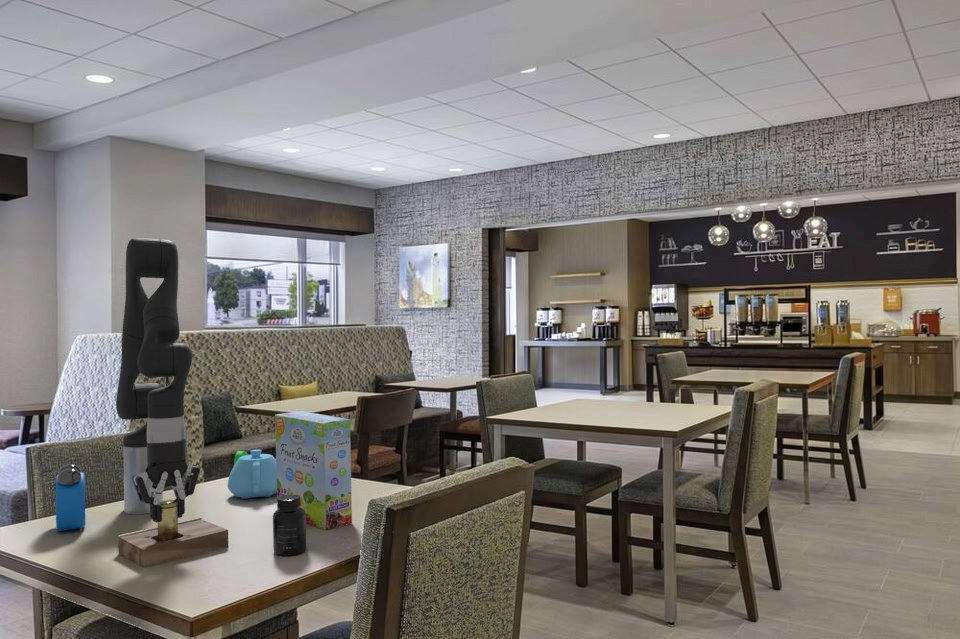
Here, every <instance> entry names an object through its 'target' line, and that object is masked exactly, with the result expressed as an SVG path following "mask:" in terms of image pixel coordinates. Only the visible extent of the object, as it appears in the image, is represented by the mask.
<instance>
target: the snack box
mask: <svg viewBox="0 0 960 639" xmlns="http://www.w3.org/2000/svg"><path fill="white" fill-rule="evenodd" d="M274 427H275V428H274V430H275V431H274V432H275V459H276V471H277V493H276V496H277V498H278V497H280V496H284V495H299V496H300V498H301V506H300V507H301V508H302V509H304V511H305V513H306V525H308V526H312V527H314V528H318V529H321V530H324V531H329V530H333V529H336V527H337V528H340V527H339V526H341V527H344V526H347V525H346V524H348V525H351V524H350V523H352V524H353V515H352V514H353V512H352V510H353V508H352V507H353V506H352V504H353V503H352V500H353V499H352V455H351V454H352V451H351V450H352V448H351V441H352V440H351V419H349V418H345V417H340V416H339V417H338V416H332V415H326V414H320V413H315V412H308V411H301V410H299V411H298V410H297V411H291V412H284V413H278V414H274ZM277 498H276V499H277ZM276 508H277V509H276V510H278V507H277V506H276ZM343 525H344V526H343ZM332 528H333V529H332Z"/></svg>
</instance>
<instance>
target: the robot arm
mask: <svg viewBox="0 0 960 639" xmlns="http://www.w3.org/2000/svg"><path fill="white" fill-rule="evenodd" d="M141 278H145V279H146V278H147V279H163V280H162V282H161V284H160V285H159V286H158V288H156V290H155V291H154V292H153V293H152V294H151V295H150V297H148V295H147V293H146V291H145V290H144V288H143V285H142V282H141ZM178 290H179V252H178V247H177V245H176V243H175V242H174V241H173V240H169V239H162V238H161V239H159V238H146V237H144V238H143V237H133V238H131V239H130V240H129V241H128V243H127V245H126V251H125V301H124V311H123V313H124V314H123V319H122V320H123V321H122V322H123V323H122V329H121V330H122V332H121V333H122V334H121V357H120V358H121V362H120V370H119V379H118V384H117V392H116V400H115V401H116V403H115V406H116V407H115V408H116V413H117V416H118V417H119V418H120V419H122V420H124V421H125V420H127V421H129V420H131V421H132V420H142V419H143V420H144V419H147V421H146V422H145V423H144V424H143V425H142V426H140V427H139V428H137V429H135V430H132V431H130V432H127V433H125V435H124V436H123V438H122V439H123V440H122V442H123V444H122V446H123V448H122V449H123V492H124V493H123V500H124V502H123V504H124V505H123V507H124V508H123V510H124V511H123V512H124V513H125V514H128V515H144V514H149V518H150V520H152V522H154V523H156V524H157V522H160V504H159V502H160V501H164V495H163V494H164V488H168V487H171V489H172V491H173V493H174V497H175V498H174V500H177V501H178V519H179V518H183V515H185V513H186V506H185V505H186V503H185V501H186V498H188V497H190V496H192V495H194V493H195V489H196V486H197V482H198V479H199V475H200V473H201V468H200V467H198V466H194V465H191V466H190V465H188V463H187V462H186V459H187V458H186V457H187V447H186V445H187V444H186V443H187V442H186V441H187V440H186V435H187V431H186V422H185V414H184V413H185V407H184V406H185V405H184V401H185V392H186V385H187V384H186V383H187V379H188V377H189V375H190V374H189V373H190V369H191V367H192V363H193V353H192V350H191V348H190V346H188V345H187V344H186V343H181V342H176V341H177V340H179V337H180V334H181V333H180V322H179V316H178V292H179V291H178ZM140 374H141V375H142V376H144V377H146V378H167V377H168V378H169V377H173V379H172V381H171V383H169V384H168V385H165V386H161V385H160V384H159V383H156V382H147V383H136V381H137V379H138V377H139V376H140ZM185 473H186V480H185V484H184V483H183V480H182V479H183V477H184V475H185Z"/></svg>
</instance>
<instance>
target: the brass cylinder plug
mask: <svg viewBox="0 0 960 639" xmlns="http://www.w3.org/2000/svg"><path fill="white" fill-rule="evenodd" d="M159 504H160V522H157V523H156V525H157V526H156V527H158V542H159V541H169V540H174V539H178V522H179V518H178V501H177V500H175V499H166V500H163V501H160V502H159Z"/></svg>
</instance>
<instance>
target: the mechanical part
mask: <svg viewBox="0 0 960 639" xmlns="http://www.w3.org/2000/svg"><path fill="white" fill-rule="evenodd" d="M245 455H249V454H248V452H247V451H245V450H243V451H242V450H238V451H236V453H235V455H234V459H233V462H234V463H233V466H234V465H235V464H236V462H237V461H238V459H239V458H240V457H242V456H245Z"/></svg>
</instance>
